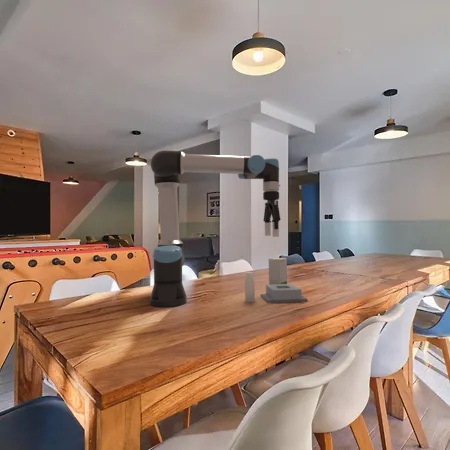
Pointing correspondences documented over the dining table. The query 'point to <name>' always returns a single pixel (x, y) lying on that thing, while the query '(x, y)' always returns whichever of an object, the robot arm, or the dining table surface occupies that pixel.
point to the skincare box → (277, 271)
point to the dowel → (249, 287)
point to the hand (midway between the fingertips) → (271, 236)
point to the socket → (283, 294)
